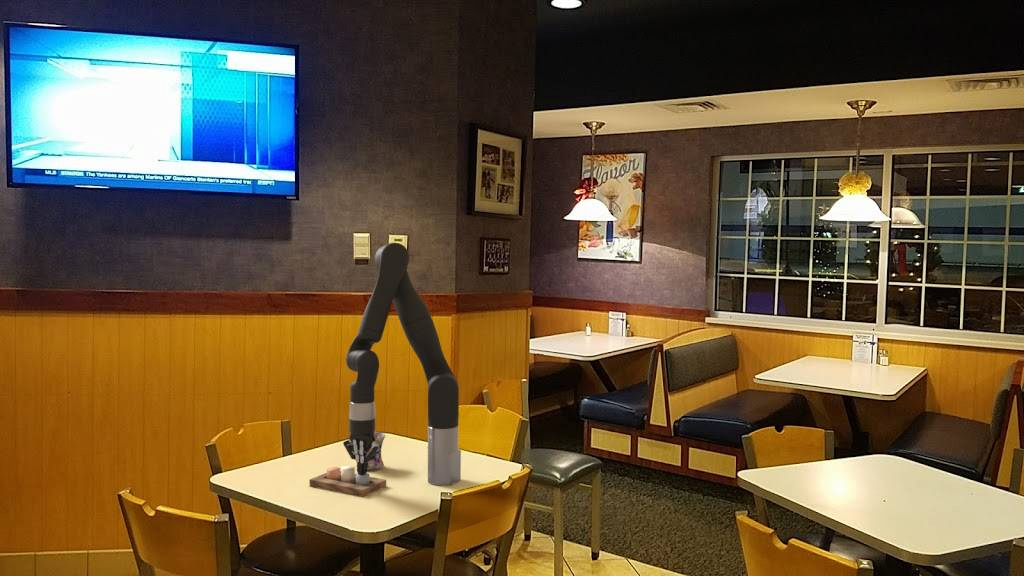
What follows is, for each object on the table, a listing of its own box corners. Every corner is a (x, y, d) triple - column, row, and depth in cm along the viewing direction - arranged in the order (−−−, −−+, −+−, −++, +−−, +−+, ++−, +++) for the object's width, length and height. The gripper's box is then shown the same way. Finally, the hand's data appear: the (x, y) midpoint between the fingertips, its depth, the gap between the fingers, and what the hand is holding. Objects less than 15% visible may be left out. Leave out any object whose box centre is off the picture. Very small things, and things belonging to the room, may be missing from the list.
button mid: (357, 480, 238) (357, 467, 237) (348, 483, 234) (348, 470, 234) (346, 478, 240) (346, 465, 239) (338, 481, 236) (338, 468, 236)
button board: (386, 486, 237) (386, 479, 237) (363, 496, 228) (363, 490, 227) (333, 476, 246) (333, 469, 246) (309, 486, 237) (309, 479, 237)
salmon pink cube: (343, 481, 240) (343, 468, 240) (334, 484, 237) (334, 471, 237) (332, 479, 242) (332, 466, 242) (323, 482, 239) (323, 469, 238)
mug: (390, 465, 259) (390, 433, 258) (376, 473, 250) (376, 440, 249) (357, 461, 262) (357, 430, 262) (343, 469, 254) (342, 436, 253)
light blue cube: (372, 487, 235) (372, 473, 235) (363, 490, 232) (363, 477, 231) (361, 484, 237) (361, 471, 237) (352, 488, 234) (352, 475, 233)
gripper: (388, 416, 233) (388, 474, 235) (352, 411, 239) (352, 467, 241) (372, 421, 227) (372, 481, 228) (336, 416, 233) (336, 474, 234)
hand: (362, 474), depth 234 cm, fingers closed
